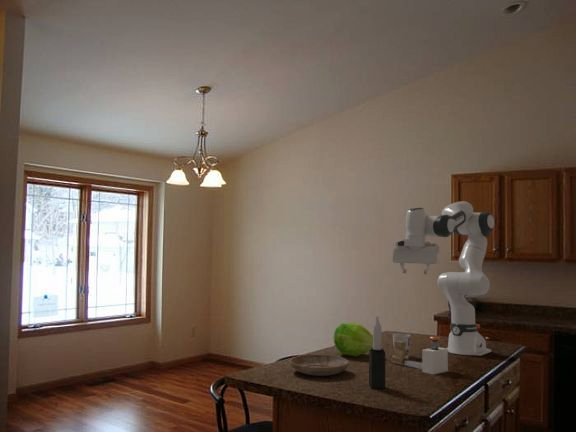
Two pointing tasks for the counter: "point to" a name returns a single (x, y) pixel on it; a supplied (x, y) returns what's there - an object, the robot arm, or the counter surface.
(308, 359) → the ceramic bowl
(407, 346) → the cup
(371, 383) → the candle
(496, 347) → the counter surface
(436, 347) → the plunger
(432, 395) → the counter surface
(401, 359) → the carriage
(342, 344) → the lettuce
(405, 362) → the rail
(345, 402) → the counter surface
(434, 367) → the housing
